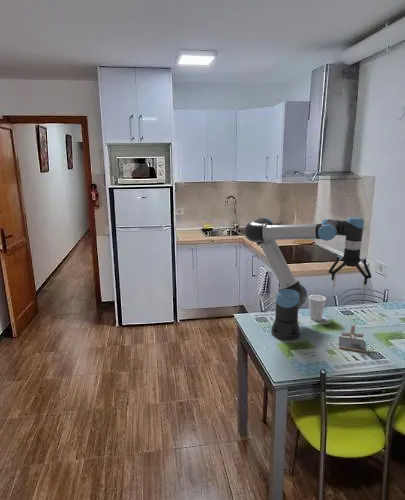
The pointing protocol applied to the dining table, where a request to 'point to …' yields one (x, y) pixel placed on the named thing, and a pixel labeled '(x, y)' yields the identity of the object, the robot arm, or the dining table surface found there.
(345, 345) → the mat
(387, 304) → the dining table surface
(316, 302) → the foam cup
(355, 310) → the dining table surface
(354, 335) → the pipe connector
